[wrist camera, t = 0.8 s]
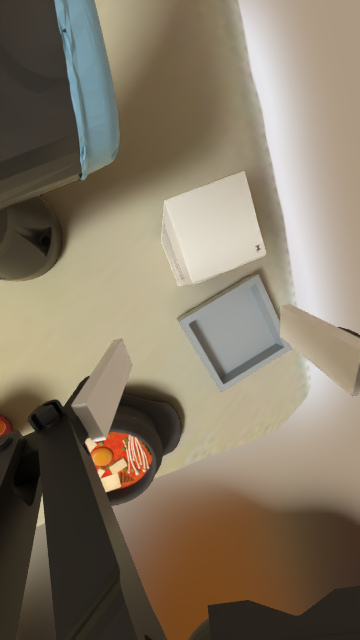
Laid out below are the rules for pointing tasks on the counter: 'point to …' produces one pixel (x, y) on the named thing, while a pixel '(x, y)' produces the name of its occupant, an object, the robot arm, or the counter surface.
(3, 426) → the smoothie
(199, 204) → the supplement box
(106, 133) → the robot arm
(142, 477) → the casserole
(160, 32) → the counter surface
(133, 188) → the counter surface
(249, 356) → the tray
